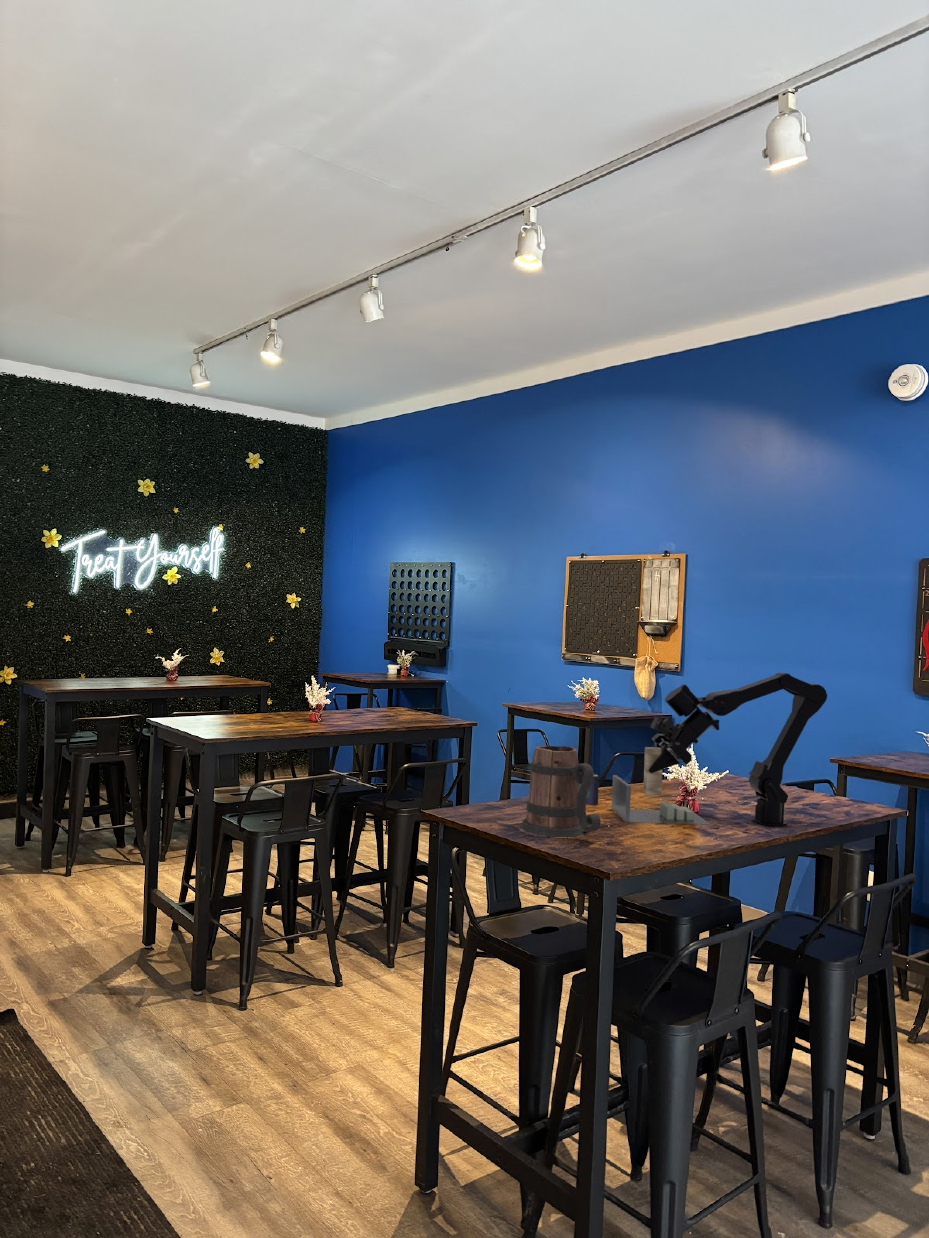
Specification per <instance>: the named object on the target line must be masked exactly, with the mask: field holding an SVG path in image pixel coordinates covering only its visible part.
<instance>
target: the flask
mask: <svg viewBox="0 0 929 1238" xmlns="http://www.w3.org/2000/svg"><path fill="white" fill-rule="evenodd" d="M583 770H584V769H583ZM584 776H585V772H584ZM584 776H583V780H584ZM599 780H600V778H599V775H598V774H595V773H594V772H593V780H592V783H591V785H590V787H589V789H588V792H587V796H586V805H588V806H598V804H599V787H600V786H599V785H600V784H599V783H600V782H599ZM581 785H582V783H581V784H579V789H580V787H581Z"/></svg>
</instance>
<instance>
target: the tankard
mask: <svg viewBox="0 0 929 1238" xmlns="http://www.w3.org/2000/svg"><path fill="white" fill-rule="evenodd" d="M533 751H534V752H533V755H532V760H531V762H530V766H529V770H530V779H529V786H528V787H529V788H528V800H527V801H526V818H523V820H522V821H521V824H519V826H520V828H522V829H523V830H525V831H526V832H531V833H534V834H537V835H547V836H555V837H567V838H568V837H577V836H580V835H585V836H587V835H586V833H587V834H588V833H591V832H596V831H598V830H599V828H600V827H601V823H602V821H601V817H600V816H599V815H598V814H597V813H589V814H587V807H586V805H587V804H586V796H587V792H588V789H589V787H590V785H591V783H592V780H593V773H594V769H593V767H592V765H590V764H589V763H579V756H578V750H577V748H575V747H572V746H564V745H562V746H554V745H539V746H536V747H534V750H533ZM583 769H584V770H583ZM584 772H585V776H584ZM583 776H584V780H583ZM581 783H582V785H581V787H580V789H579V784H581Z"/></svg>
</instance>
